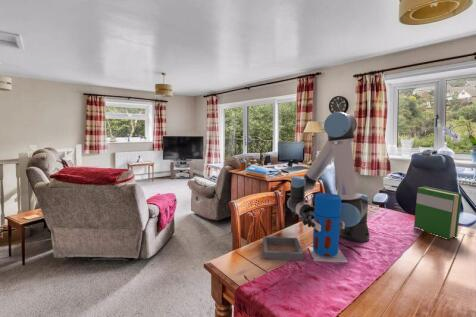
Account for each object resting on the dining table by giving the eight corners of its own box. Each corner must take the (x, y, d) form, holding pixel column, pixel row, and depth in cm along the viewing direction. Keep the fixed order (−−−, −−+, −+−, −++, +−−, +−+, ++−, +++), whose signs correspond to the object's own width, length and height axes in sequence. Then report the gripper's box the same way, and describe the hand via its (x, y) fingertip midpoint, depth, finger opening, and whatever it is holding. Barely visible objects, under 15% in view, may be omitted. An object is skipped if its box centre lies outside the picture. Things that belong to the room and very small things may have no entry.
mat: (338, 249, 121) (338, 248, 121) (347, 262, 109) (347, 261, 109) (308, 248, 122) (308, 246, 122) (314, 260, 110) (314, 259, 110)
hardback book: (456, 238, 137) (462, 193, 134) (448, 240, 134) (453, 195, 131) (421, 226, 153) (425, 186, 150) (413, 228, 150) (417, 187, 147)
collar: (296, 243, 127) (297, 237, 126) (302, 260, 110) (303, 254, 110) (263, 242, 128) (263, 236, 127) (264, 258, 111) (264, 252, 111)
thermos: (339, 258, 109) (343, 200, 106) (313, 254, 111) (316, 198, 109) (336, 246, 120) (339, 193, 117) (312, 244, 122) (314, 192, 119)
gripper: (325, 216, 135) (354, 233, 114) (284, 220, 129) (307, 238, 108) (326, 202, 134) (355, 216, 113) (285, 205, 128) (307, 220, 107)
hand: (332, 227), depth 110 cm, fingers closed on thermos, 11 cm apart
